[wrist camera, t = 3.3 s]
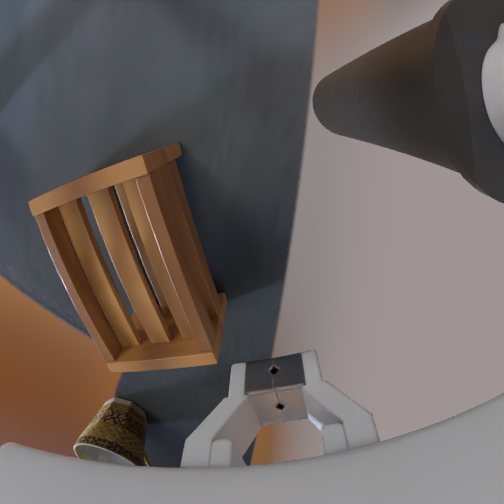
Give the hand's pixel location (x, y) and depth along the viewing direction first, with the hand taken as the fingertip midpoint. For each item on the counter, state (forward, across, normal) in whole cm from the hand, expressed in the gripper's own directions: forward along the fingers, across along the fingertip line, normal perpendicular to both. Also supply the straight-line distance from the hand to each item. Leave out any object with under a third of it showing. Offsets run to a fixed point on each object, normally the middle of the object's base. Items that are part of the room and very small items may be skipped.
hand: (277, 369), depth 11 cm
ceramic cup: (+19, +26, +26) cm, 41 cm away
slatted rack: (+19, +11, 0) cm, 21 cm away
